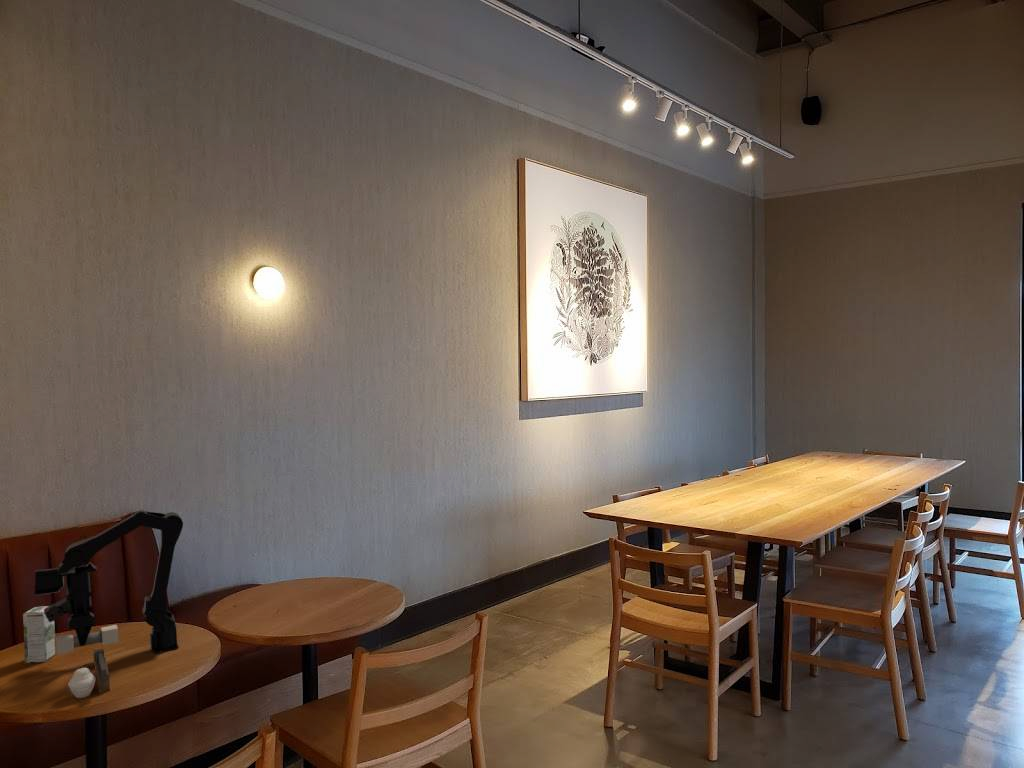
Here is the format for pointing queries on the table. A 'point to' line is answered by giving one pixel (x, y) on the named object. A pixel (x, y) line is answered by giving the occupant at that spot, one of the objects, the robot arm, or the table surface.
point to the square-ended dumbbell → (105, 636)
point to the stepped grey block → (101, 662)
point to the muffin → (82, 683)
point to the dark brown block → (102, 682)
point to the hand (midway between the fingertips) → (82, 644)
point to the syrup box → (38, 636)
